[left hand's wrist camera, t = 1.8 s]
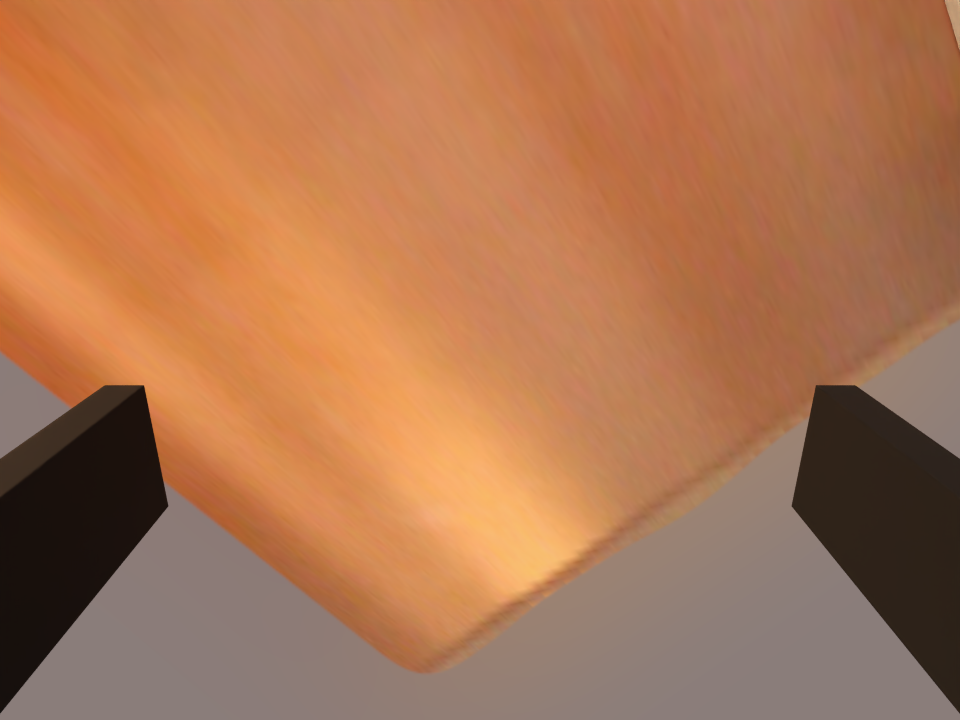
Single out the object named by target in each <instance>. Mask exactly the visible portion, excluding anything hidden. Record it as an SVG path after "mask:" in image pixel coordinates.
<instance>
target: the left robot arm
mask: <svg viewBox="0 0 960 720" xmlns="http://www.w3.org/2000/svg"><path fill="white" fill-rule="evenodd" d="M167 507H168V502H167V497H166V492H165V487H164V482H163V477H162V472H161V467H160V462H159V457H158V453H157V448H156V443H155V438H154V433H153V428H152V423H151V418H150V413H149V408H148V403H147V398H146V393H145V388H144V385H105V386H103V387H102V388H100V389H99V390H98V391H96V392H95V393H93V394H92V395H90V396H89V397H88V398H86V399H85V400H83V401H82V402H80V403H79V404H78V405H76V406H75V407H73V408H72V409H71V410H69V411H68V412H66V413H65V414H63V415H62V416H61V417H59V418H58V419H56V420H55V421H53V422H52V423H51V424H49V425H48V426H46V427H45V428H44V429H42V430H41V431H39V432H38V433H36V434H35V435H34V436H32V437H31V438H29V439H28V440H26V441H25V442H24V443H22V444H21V445H19V446H18V447H16V448H15V449H14V450H12V451H11V452H9V453H8V454H7V455H5V456H4V457H2V458H1V459H0V713H1V712H2V711H3V709H4V708H5V707H6V706H7V704H8V703H9V702H10V701H11V700H12V698H13V697H14V696H15V695H16V693H17V692H18V691H19V690H20V688H21V687H22V686H23V685H24V684H25V682H26V681H27V680H28V678H29V677H30V676H31V675H32V674H33V672H34V671H35V670H36V669H37V668H38V666H39V665H40V664H41V663H42V661H43V660H44V659H45V658H46V656H47V655H48V654H49V653H50V651H51V650H52V649H53V648H54V646H55V645H56V644H57V643H58V642H59V640H60V639H61V638H62V637H63V635H64V634H65V633H66V632H67V630H68V629H69V628H70V627H71V626H72V624H73V623H74V622H75V621H76V619H77V618H78V617H79V616H80V614H81V613H82V612H83V611H84V610H85V608H86V607H87V606H88V605H89V603H90V602H91V601H92V600H93V598H94V597H95V596H96V595H97V593H98V592H99V591H100V590H101V589H102V587H103V586H104V585H105V584H106V582H107V581H108V580H109V579H110V577H111V576H112V575H113V574H114V573H115V571H116V570H117V569H118V568H119V566H120V565H121V564H122V563H123V561H124V560H125V559H126V558H127V557H128V555H129V554H130V553H131V552H132V550H133V549H134V548H135V547H136V545H137V544H138V543H139V542H140V541H141V539H142V538H143V537H144V536H145V534H146V533H147V532H148V531H149V529H150V528H151V527H152V526H153V524H154V523H155V522H156V521H157V520H158V518H159V517H160V516H161V515H162V513H163V512H164V511H165V510H166V508H167ZM792 507H793V508H794V510H795V511H796V512H797V513H798V515H799V516H800V517H801V518H802V520H803V521H804V522H805V523H806V524H807V526H808V527H809V528H810V529H811V531H812V532H813V533H814V534H815V536H816V537H817V538H818V539H819V541H820V542H821V543H822V544H823V545H824V547H825V548H826V549H827V550H828V552H829V553H830V554H831V555H832V557H833V558H834V559H835V560H836V561H837V563H838V564H839V565H840V566H841V568H842V569H843V570H844V571H845V573H846V574H847V575H848V576H849V577H850V579H851V580H852V581H853V582H854V584H855V585H856V586H857V587H858V589H859V590H860V591H861V592H862V594H863V595H864V596H865V597H866V598H867V600H868V601H869V602H870V603H871V605H872V606H873V607H874V608H875V610H876V611H877V612H878V613H879V614H880V616H881V617H882V618H883V619H884V621H885V622H886V623H887V624H888V626H889V627H890V628H891V629H892V631H893V632H894V633H895V634H896V635H897V637H898V638H899V639H900V640H901V642H902V643H903V644H904V645H905V647H906V648H907V649H908V650H909V651H910V653H911V654H912V655H913V656H914V658H915V659H916V660H917V661H918V663H919V664H920V665H921V666H922V667H923V669H924V670H925V671H926V672H927V674H928V675H929V676H930V677H931V679H932V680H933V681H934V682H935V684H936V685H937V686H938V687H939V688H940V690H941V691H942V692H943V693H944V695H945V696H946V697H947V698H948V700H949V701H950V702H951V703H952V704H953V706H954V707H955V708H956V709H957V711H958V712H959V713H960V459H959V458H958V457H956V456H955V455H954V454H952V453H951V452H949V451H948V450H946V449H945V448H944V447H942V446H941V445H939V444H938V443H936V442H935V441H933V440H932V439H931V438H929V437H928V436H926V435H925V434H924V433H922V432H921V431H919V430H918V429H917V428H915V427H914V426H912V425H911V424H909V423H908V422H907V421H905V420H904V419H902V418H901V417H899V416H898V415H896V414H895V413H894V412H892V411H891V410H889V409H888V408H887V407H885V406H884V405H882V404H881V403H880V402H878V401H877V400H875V399H874V398H872V397H871V396H870V395H868V394H867V393H865V392H864V391H862V390H861V389H860V388H858V387H857V386H855V385H816V388H815V393H814V398H813V403H812V408H811V413H810V418H809V423H808V428H807V433H806V438H805V443H804V448H803V452H802V458H801V462H800V467H799V472H798V477H797V482H796V487H795V492H794V497H793V502H792Z"/></svg>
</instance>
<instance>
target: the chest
mask: <svg viewBox="0 0 960 720" xmlns="http://www.w3.org/2000/svg"><path fill="white" fill-rule="evenodd" d="M945 4H946V7H947V10H948V14H949V17H950V20H951V23H952V27H953V30H954V33H955V37H956V40H957V43H958V46H959V50H960V0H945Z"/></svg>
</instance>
